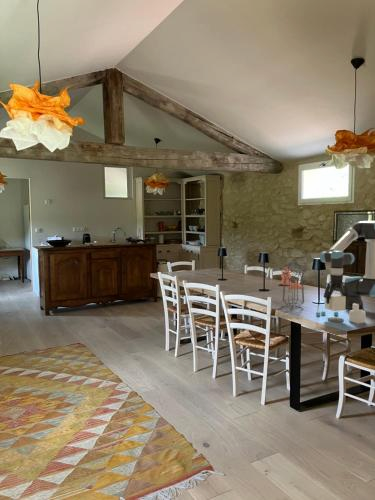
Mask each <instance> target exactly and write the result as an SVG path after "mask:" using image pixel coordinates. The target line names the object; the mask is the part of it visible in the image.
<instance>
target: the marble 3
mask: <svg viewBox="0 0 375 500" xmlns="http://www.w3.org/2000/svg"><path fill="white" fill-rule="evenodd" d="M333 315H334V317H337V316H339V311H333Z"/></svg>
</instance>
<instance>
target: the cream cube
mask: <svg viewBox="0 0 375 500" xmlns="http://www.w3.org/2000/svg"><path fill="white" fill-rule="evenodd" d="M330 299H331V309H328V308H327V303H326V298H324V309H327V310H329V311H333V312H339V311H345V310H346V308H345V302H346V296H342V295H341V294H337V293H332V295H331V297H330Z"/></svg>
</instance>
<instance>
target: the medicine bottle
mask: <svg viewBox="0 0 375 500" xmlns="http://www.w3.org/2000/svg"><path fill="white" fill-rule="evenodd" d="M363 305H364V304H363ZM363 305H362V304H360V303H354V304H353V309H349V312H348V321H349V322H350V323H353V324H364V323H366V317H367V316H366V314H367V313H366V311H365V310H363V309H364V308H363Z"/></svg>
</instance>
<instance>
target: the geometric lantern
mask: <svg viewBox="0 0 375 500" xmlns="http://www.w3.org/2000/svg"><path fill="white" fill-rule="evenodd" d="M285 269H286V270H285ZM287 269H288V270H287ZM283 270H285V271H286V272H287V273H285V271H284V272H283V273H284V282H285V283H286V280H288V279H289V285H288V287H289V288H288V292H290V291H291V289H290V286H291V287H292V284H294V283H293V281H294V282H295V281H296V280H297V289H295V284H294V289H293V291H294V292H293V297H291V298H290V296H288V299H285V293H286V292H285V291H286V286H283V289H282V290H283V291H282V292H283V293H282V302H283V303H284V304H286V305H285V307H287V308H290V309H293V307H299V308H301V306H302V305H303V304H305V296H304V295H305V293H304V289H305V288H304V289H301V299H302V300H300V299H299V289H298V284H299V283H298V281H299V280H300V282H301V283H300V284H301V286H303V284H304V279H303V276H302V275H303V274H304V273H305V272H306V271H308V269H307V268H306V267H304V266H303V265H301V264H299V263H298V262H296V261H292V262H289V263H288V264H286V265H284V266H282V267H280V271H283ZM289 271H291V272H289ZM294 271H295V272H294ZM297 271H298V272H299V273H298V272H297ZM288 272H289V274H291V276H293V277H291V278H289V277H288V278H285V274H288ZM283 273H282V274H283ZM297 275H298V276H297ZM287 276H288V275H286V277H287ZM295 276H297V277H295ZM299 277H300V278H299ZM290 281H291V285H290ZM295 293H296V295H295ZM296 296H297V297H296ZM295 297H296V298H295ZM290 301H291V302H290ZM294 301H296V302H294ZM298 302H300V303H298Z"/></svg>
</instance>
